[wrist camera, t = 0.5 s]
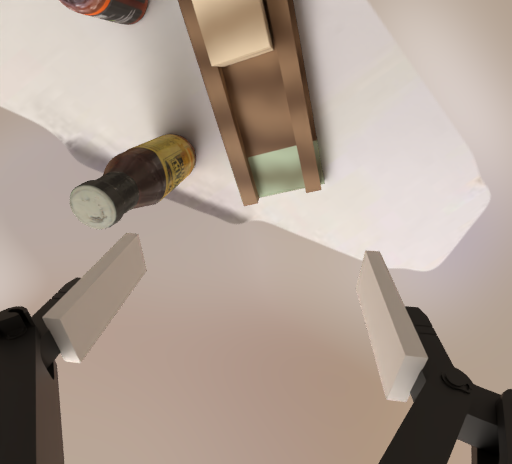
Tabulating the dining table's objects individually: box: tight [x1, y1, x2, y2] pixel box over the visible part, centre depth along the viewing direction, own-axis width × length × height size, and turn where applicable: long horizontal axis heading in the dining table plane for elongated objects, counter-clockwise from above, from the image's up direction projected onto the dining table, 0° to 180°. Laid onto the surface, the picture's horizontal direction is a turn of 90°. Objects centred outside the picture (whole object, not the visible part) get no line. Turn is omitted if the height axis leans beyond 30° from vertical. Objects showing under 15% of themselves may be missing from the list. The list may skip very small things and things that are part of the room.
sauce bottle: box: [70, 134, 196, 229], centre depth 32 cm, size 7×6×20 cm
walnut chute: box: [178, 0, 325, 206], centre depth 35 cm, size 24×12×3 cm, turn 16°
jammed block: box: [192, 0, 274, 67], centre depth 29 cm, size 6×6×6 cm
